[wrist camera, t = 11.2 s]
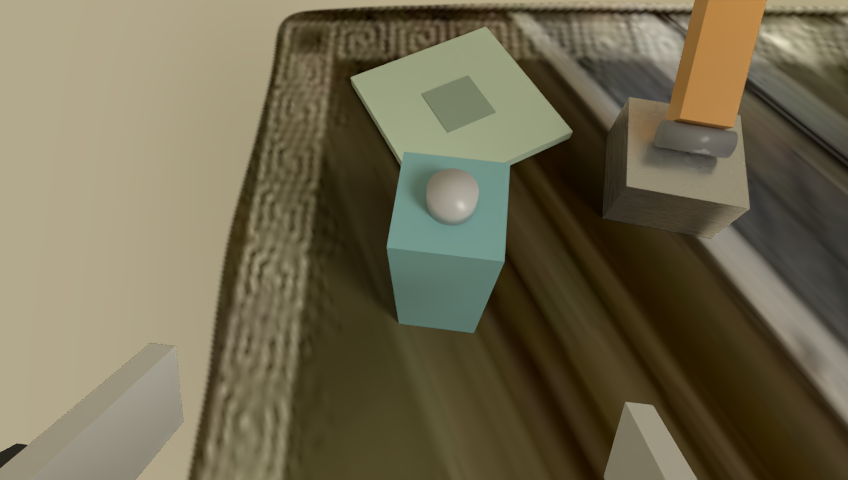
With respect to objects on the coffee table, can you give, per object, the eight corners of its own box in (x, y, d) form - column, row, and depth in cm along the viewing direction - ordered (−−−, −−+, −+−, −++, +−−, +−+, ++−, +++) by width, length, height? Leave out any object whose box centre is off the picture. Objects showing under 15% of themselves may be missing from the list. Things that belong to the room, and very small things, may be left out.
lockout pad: (484, 34, 38) (486, 25, 37) (569, 138, 33) (573, 130, 32) (351, 85, 35) (350, 76, 35) (423, 204, 31) (424, 197, 30)
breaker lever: (735, 156, 26) (783, -26, 25) (664, 144, 26) (707, -36, 25) (716, 159, 28) (760, -9, 27) (650, 148, 28) (690, -19, 27)
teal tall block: (479, 263, 29) (514, 148, 18) (473, 333, 27) (509, 250, 16) (409, 255, 29) (403, 136, 18) (398, 323, 27) (384, 236, 17)
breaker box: (710, 238, 30) (750, 208, 26) (602, 218, 30) (626, 186, 27) (705, 150, 33) (740, 112, 29) (606, 133, 34) (629, 94, 30)
